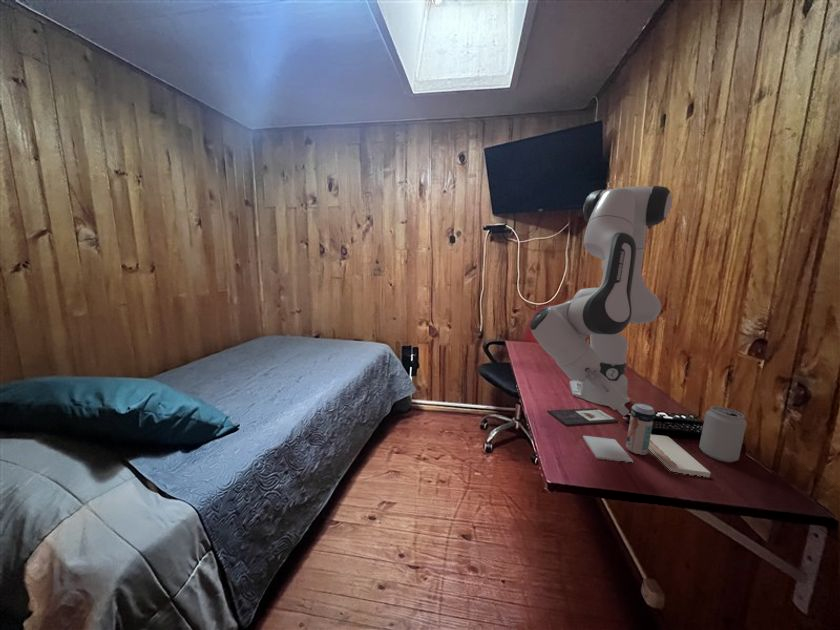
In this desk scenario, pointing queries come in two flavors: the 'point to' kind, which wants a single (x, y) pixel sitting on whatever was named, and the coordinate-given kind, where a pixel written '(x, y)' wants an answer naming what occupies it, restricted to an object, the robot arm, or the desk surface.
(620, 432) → the desk surface
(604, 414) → the chocolate bar
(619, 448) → the mat
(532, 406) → the desk surface
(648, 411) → the jar with lid
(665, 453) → the board
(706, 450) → the can
